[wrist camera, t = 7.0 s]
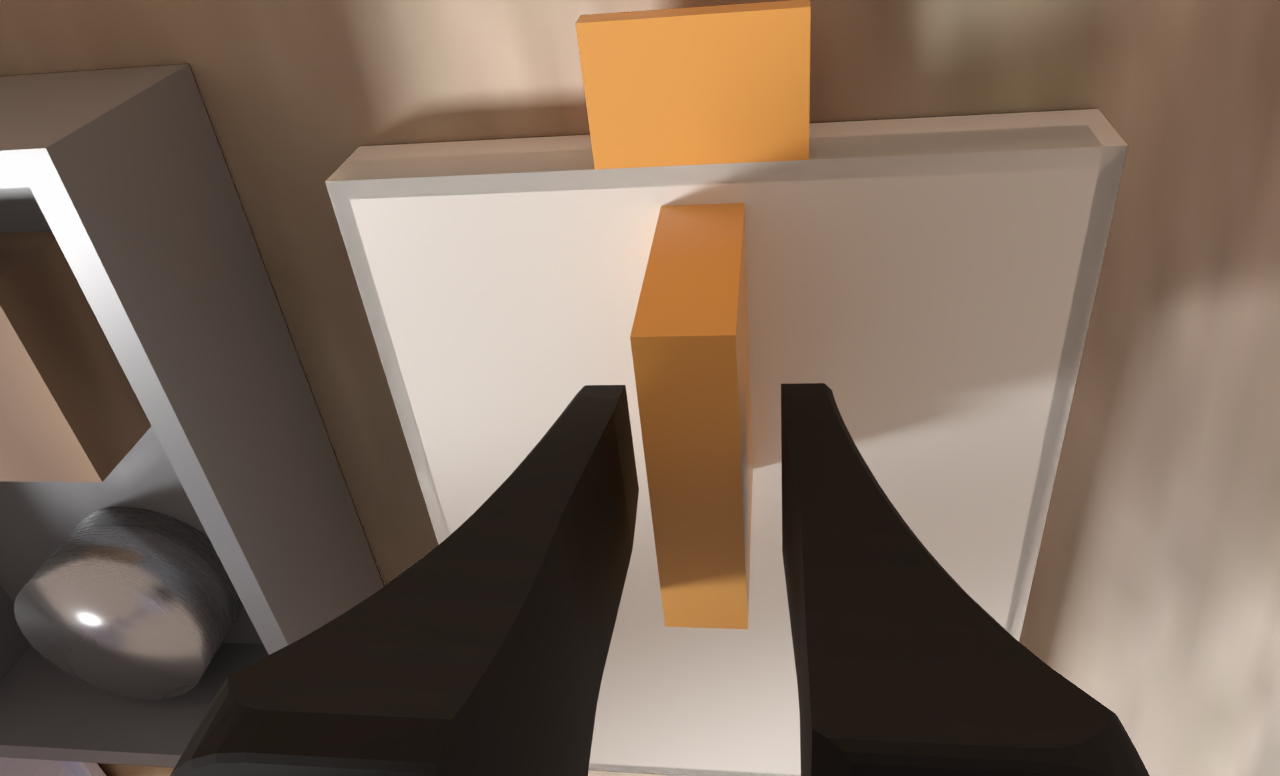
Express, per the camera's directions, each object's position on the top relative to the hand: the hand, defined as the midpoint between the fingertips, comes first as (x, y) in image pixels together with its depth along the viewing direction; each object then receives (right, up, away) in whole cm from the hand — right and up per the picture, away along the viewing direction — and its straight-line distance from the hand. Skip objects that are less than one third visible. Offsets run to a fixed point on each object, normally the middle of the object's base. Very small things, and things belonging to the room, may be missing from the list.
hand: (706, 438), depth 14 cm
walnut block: (-13, +2, +4) cm, 13 cm away
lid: (+1, -1, +4) cm, 4 cm away
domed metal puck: (-12, -3, +8) cm, 15 cm away
